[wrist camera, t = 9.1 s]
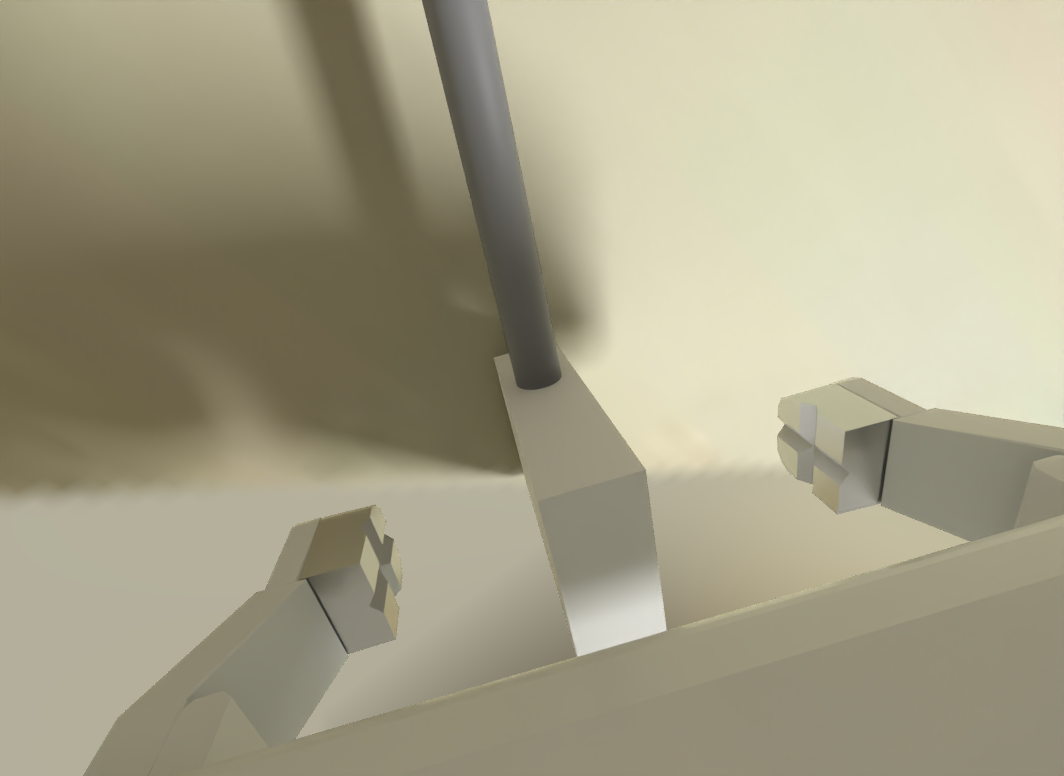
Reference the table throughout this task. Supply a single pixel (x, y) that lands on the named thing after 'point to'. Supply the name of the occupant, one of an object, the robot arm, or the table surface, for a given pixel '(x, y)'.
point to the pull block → (547, 369)
